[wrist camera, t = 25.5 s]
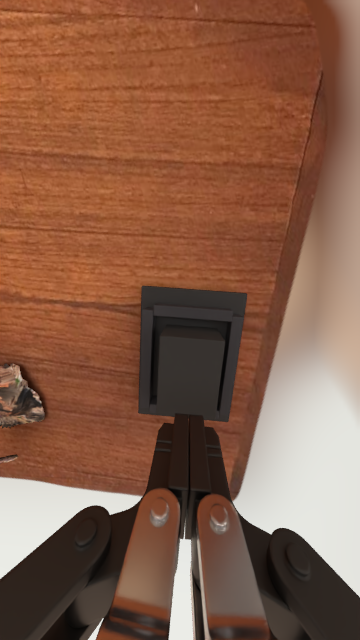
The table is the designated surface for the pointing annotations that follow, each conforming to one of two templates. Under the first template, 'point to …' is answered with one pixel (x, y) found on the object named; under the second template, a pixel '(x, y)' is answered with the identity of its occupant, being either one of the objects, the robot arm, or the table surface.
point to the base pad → (189, 311)
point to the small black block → (189, 370)
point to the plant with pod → (17, 401)
